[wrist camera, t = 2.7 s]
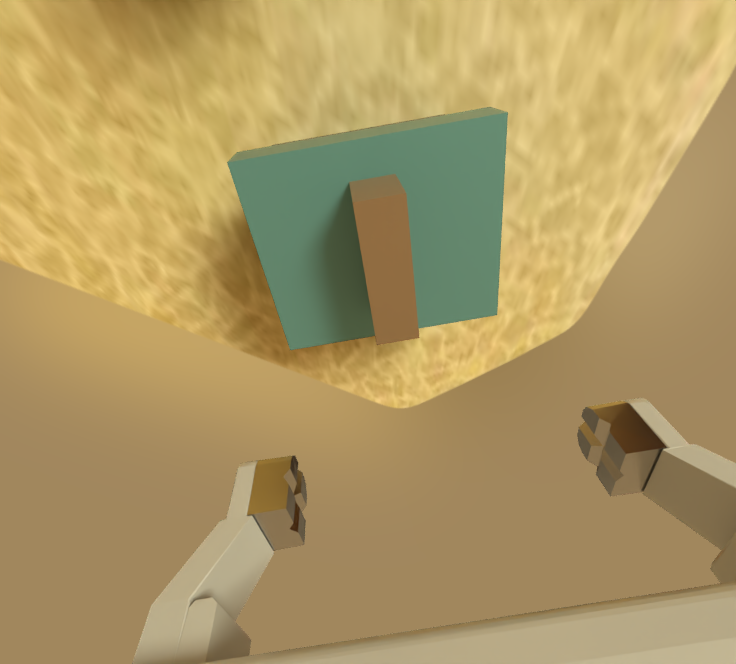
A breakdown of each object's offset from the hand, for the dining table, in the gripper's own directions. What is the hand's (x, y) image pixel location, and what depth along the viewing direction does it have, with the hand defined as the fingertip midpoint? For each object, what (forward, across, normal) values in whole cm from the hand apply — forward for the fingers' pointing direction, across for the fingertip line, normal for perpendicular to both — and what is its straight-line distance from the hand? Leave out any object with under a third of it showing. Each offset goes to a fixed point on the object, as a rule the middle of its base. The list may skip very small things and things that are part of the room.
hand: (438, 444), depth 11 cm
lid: (+16, 0, 0) cm, 16 cm away
